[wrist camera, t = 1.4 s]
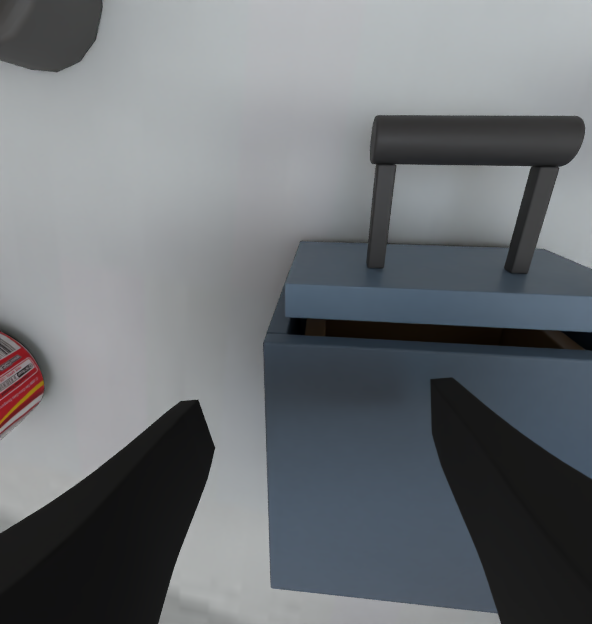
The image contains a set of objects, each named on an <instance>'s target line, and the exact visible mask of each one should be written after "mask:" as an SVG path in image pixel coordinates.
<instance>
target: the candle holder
mask: <svg viewBox="0 0 592 624" xmlns="http://www.w3.org/2000/svg"><path fill="white" fill-rule="evenodd" d="M101 11H102V0H0V60H1V61H4V62H8V63H11V64H15V65H18V66H21V67H25V68H28V69H32V70H42V71H53V72H58V71H60V70H62V69H65V68H67V67H69V66H71V65H73V64H75V63H78V62H80V60H81V59H82V58H83V56H84V55H85V53H86V52H87V50H88V49H89V48H90V46H91V45H92V43H93V42H94V41H95V39H96V35H97V30H98V25H99V20H100V16H101Z"/></svg>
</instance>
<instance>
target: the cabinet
mask: <svg viewBox="0 0 592 624" xmlns="http://www.w3.org/2000/svg"><path fill="white" fill-rule="evenodd" d="M289 271H290V270H289ZM288 274H289V273H288ZM287 277H288V276H287ZM286 280H287V278H286ZM285 282H286V281H285ZM306 321H307V318H292V317H285V284H284V287H283V289H282V292H281V295H280V298H279V300H278V303H277V306H276V309H275V311H274V314H273V317H272V320H271V322H270V325H269V328H268V331H267V334H266V337H265V340H264V342H263V356H264V388H265V420H266V452H267V484H268V516H269V548H270V580H271V588H274V589H283V590H292V591H301V592H310V593H319V594H328V595H337V596H346V597H355V598H364V599H373V600H382V601H391V602H400V603H409V604H418V605H427V606H436V607H445V608H454V609H463V610H472V611H481V612H490V613H498V612H497V609H496V606H495V603H494V600H493V597H492V594H491V590H490V587H489V584H488V581H487V578H486V575H485V572H484V569H483V566H482V564H481V561H480V558H479V556H478V553H477V551H476V548H475V546H474V543H473V541H472V538H471V536H470V534H469V531H468V529H467V527H466V524H465V522H464V520H463V517H462V515H461V512H460V510H459V508H458V505H457V503H456V501H455V498H454V496H453V494H452V491H451V489H450V486H449V484H448V482H447V479H446V477H445V474H444V472H443V469H442V467H441V464H440V460H439V457H438V454H437V450H436V447H435V443H434V440H433V436H432V426H431V388H430V379H437V378H449V377H453V378H454V379H455V380H456V381H458V382H459V383H460V384H461V385H462V386H464V387H465V388H466V389H467V390H468V391H470V392H471V393H472V394H473V395H474V396H475V397H477V398H478V399H479V400H480V401H481V402H483V403H484V404H485V405H486V406H487V407H489V408H490V409H491V410H492V411H494V412H495V413H496V414H497V415H499V416H500V417H501V418H503V419H504V420H505V421H506V422H508V423H509V424H510V425H512V426H513V427H514V428H515V429H517V430H518V431H519V432H521V433H522V434H523V435H525V436H526V437H528V438H529V439H531V440H532V441H533V442H535V443H536V444H538V445H539V446H541V447H542V448H543V449H545V450H546V451H548V452H549V453H551V454H552V455H554V456H555V457H557V458H558V459H560V460H561V461H563V462H565V463H566V464H568V465H570V466H571V467H573V468H574V469H576V470H578V471H579V472H581V473H583V474H584V475H586V476H588V477H589V478H591V479H592V332H576V331H561V332H563V333H564V334H565V335H567V336H568V337H569V338H571V339H572V340H573V341H575V342H576V343H577V344H579V345H580V346H581V347H583V348H584V349H585V350H571V349H552V348H534V347H515V346H496V345H477V344H458V343H439V342H421V341H402V340H383V339H364V338H345V337H326V336H308V335H304V334H305V327H306Z"/></svg>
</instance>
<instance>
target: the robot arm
mask: <svg viewBox="0 0 592 624" xmlns="http://www.w3.org/2000/svg"><path fill="white" fill-rule="evenodd" d="M430 388H431V426H432V436H433V440H434V443H435V447H436V450H437V454H438V457H439V460H440V464H441V467H442V469H443V472H444V474H445V477H446V479H447V482H448V484H449V486H450V489H451V491H452V494H453V496H454V498H455V501H456V503H457V505H458V508H459V510H460V512H461V515H462V517H463V520H464V522H465V524H466V527H467V529H468V531H469V534H470V536H471V538H472V541H473V543H474V546H475V548H476V551H477V553H478V556H479V558H480V561H481V564H482V566H483V569H484V572H485V575H486V578H487V581H488V584H489V587H490V590H491V594H492V597H493V600H494V603H495V606H496V609H497V612H498V615H499V618H500V621H501V624H592V479H591V478H589V477H588V476H586V475H584V474H583V473H581V472H579V471H578V470H576V469H574V468H573V467H571V466H570V465H568V464H566V463H565V462H563V461H561V460H560V459H558V458H557V457H555V456H554V455H552V454H551V453H549V452H548V451H546V450H545V449H543V448H542V447H541V446H539V445H538V444H536V443H535V442H533V441H532V440H531V439H529V438H528V437H526V436H525V435H523V434H522V433H521V432H519V431H518V430H517V429H515V428H514V427H513V426H512V425H510V424H509V423H508V422H506V421H505V420H504V419H503V418H501V417H500V416H499V415H497V414H496V413H495V412H494V411H492V410H491V409H490V408H489V407H487V406H486V405H485V404H484V403H483V402H481V401H480V400H479V399H478V398H477V397H475V396H474V395H473V394H472V393H471V392H470V391H468V390H467V389H466V388H465V387H464V386H462V385H461V384H460V383H459V382H458V381H456V380H455V379H454V378H453V377H449V378H437V379H430ZM214 450H215V446H214V443H213V441H212V438H211V435H210V432H209V429H208V426H207V423H206V421H205V418H204V415H203V412H202V409H201V406H200V403H199V401H198V400H189V401H180V402H179V403H178V404H176V405H175V406H174V407H172V408H171V409H170V410H169V411H167V412H166V413H165V414H164V415H162V416H161V417H160V418H159V419H158V420H157V421H155V422H154V423H153V424H152V425H151V426H149V427H148V428H147V429H146V430H145V431H144V432H142V433H141V434H140V435H139V436H138V437H136V438H135V439H134V440H133V441H132V442H130V443H129V444H128V445H127V446H126V447H125V448H123V449H122V450H121V451H119V452H118V453H117V454H116V455H114V456H113V457H112V458H111V459H109V460H108V461H107V462H106V463H104V464H103V465H102V466H100V467H99V468H98V469H97V470H95V471H94V472H93V473H91V474H90V475H89V476H87V477H86V478H85V479H83V480H82V481H81V482H79V483H78V484H76V485H75V486H74V487H72V488H71V489H69V490H68V491H66V492H65V493H63V494H62V495H61V496H59V497H58V498H56V499H55V500H53V501H52V502H50V503H49V504H47V505H46V506H44V507H42V508H41V509H39V510H38V511H36V512H34V513H33V514H31V515H30V516H28V517H26V518H25V519H23V520H21V521H20V522H18V523H17V524H15V525H13V526H12V527H10V528H8V529H7V530H5V531H4V532H2V533H0V624H158V622H159V619H160V615H161V611H162V607H163V604H164V601H165V597H166V594H167V590H168V587H169V583H170V580H171V576H172V573H173V569H174V567H175V564H176V561H177V558H178V555H179V552H180V550H181V547H182V544H183V542H184V539H185V537H186V534H187V531H188V529H189V526H190V524H191V521H192V518H193V516H194V513H195V511H196V508H197V506H198V503H199V500H200V498H201V495H202V492H203V490H204V487H205V484H206V481H207V479H208V475H209V471H210V467H211V463H212V459H213V454H214Z"/></svg>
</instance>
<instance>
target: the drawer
mask: <svg viewBox="0 0 592 624" xmlns="http://www.w3.org/2000/svg"><path fill="white" fill-rule="evenodd" d="M584 134H585V125H584V121H583V120H582V119H581V118H580V117H578V116H425V115H378V116H376V117H375V119H374V122H373V127H372V134H371V144H370V161H371V163H372V164H376V168H375V178H374V188H373V198H372V208H371V219H370V229H369V239H368V243H340V242H309V241H300V244H299V246H298V249H297V252H296V255H295V257H294V260H293V263H292V266H291V269H290V271H289V274H288V277H287V280H286V282H285V317H292V318H307V321H306V327H305V334H304V335H308V336H326V337H345V338H364V339H383V340H402V341H421V342H439V343H458V344H477V345H496V346H515V347H534V348H552V349H571V350H585V349H584V348H583V347H581V346H580V345H579V344H577V343H576V342H575V341H573V340H572V339H571V338H569V337H568V336H567V335H565V334H564V333H563V332H561V331H576V332H592V269H590V268H588V267H585V266H583V265H581V264H578V263H576V262H574V261H571V260H569V259H567V258H564V257H562V256H559V255H557V254H555V253H552V252H550V251H548V250H545V249H535V248H536V244H537V241H538V238H539V234H540V231H541V228H542V224H543V221H544V218H545V214H546V211H547V208H548V204H549V201H550V198H551V194H552V191H553V188H554V184H555V181H556V178H557V174H558V171H559V167H556V166H563V165H566V164H568V163H569V162H570V161H571V160H572V159H573V158H574V157H575V156H576V154H577V153H578V151H579V149H580V147H581V145H582V142H583V139H584ZM395 164H417V165H489V166H532V167H531V169H530V173H529V176H528V180H527V184H526V187H525V191H524V195H523V199H522V202H521V206H520V210H519V214H518V217H517V221H516V225H515V228H514V232H513V236H512V240H511V243H510V247H509V248H498V247H466V246H435V245H403V244H387V238H388V230H389V222H390V214H391V205H392V197H393V189H394V180H395V172H396V165H395Z"/></svg>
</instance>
